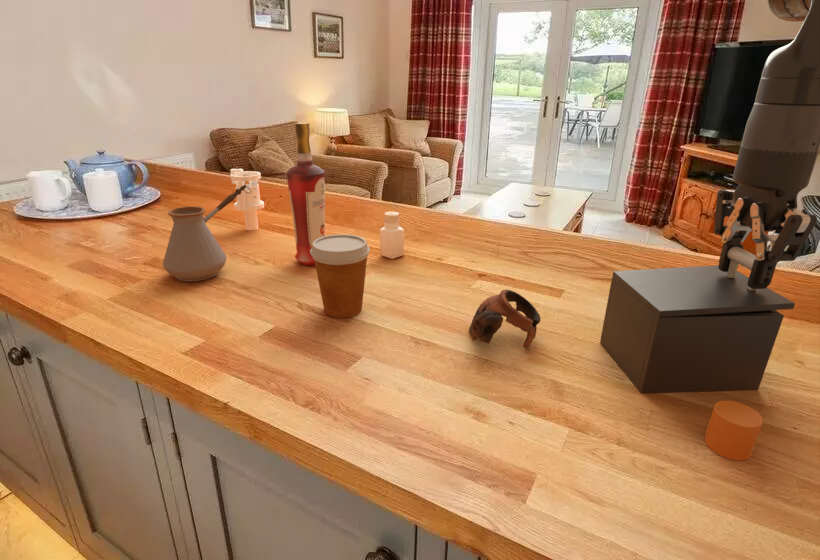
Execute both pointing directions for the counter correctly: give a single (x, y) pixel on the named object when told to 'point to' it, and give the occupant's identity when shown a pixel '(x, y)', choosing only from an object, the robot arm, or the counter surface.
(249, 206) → the white plastic fitting
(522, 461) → the counter surface
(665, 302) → the box lid with handle
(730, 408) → the orange cylinder
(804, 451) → the counter surface
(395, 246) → the white medicine bottle
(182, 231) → the coffee pot
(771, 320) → the dark grey storage bin
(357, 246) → the disposable coffee cup
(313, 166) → the liquor
